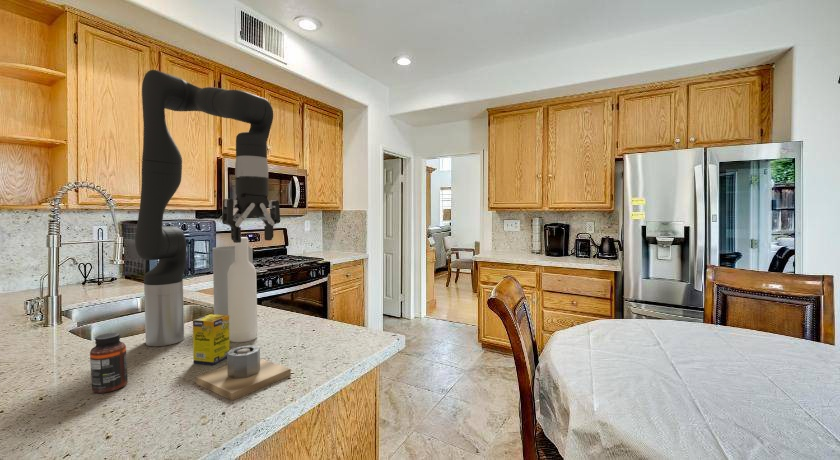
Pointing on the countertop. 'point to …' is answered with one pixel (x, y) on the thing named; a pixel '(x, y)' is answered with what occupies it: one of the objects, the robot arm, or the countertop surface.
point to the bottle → (242, 296)
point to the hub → (243, 362)
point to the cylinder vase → (223, 276)
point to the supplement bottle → (108, 363)
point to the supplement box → (211, 339)
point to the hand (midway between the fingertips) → (253, 241)
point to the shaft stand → (242, 379)
